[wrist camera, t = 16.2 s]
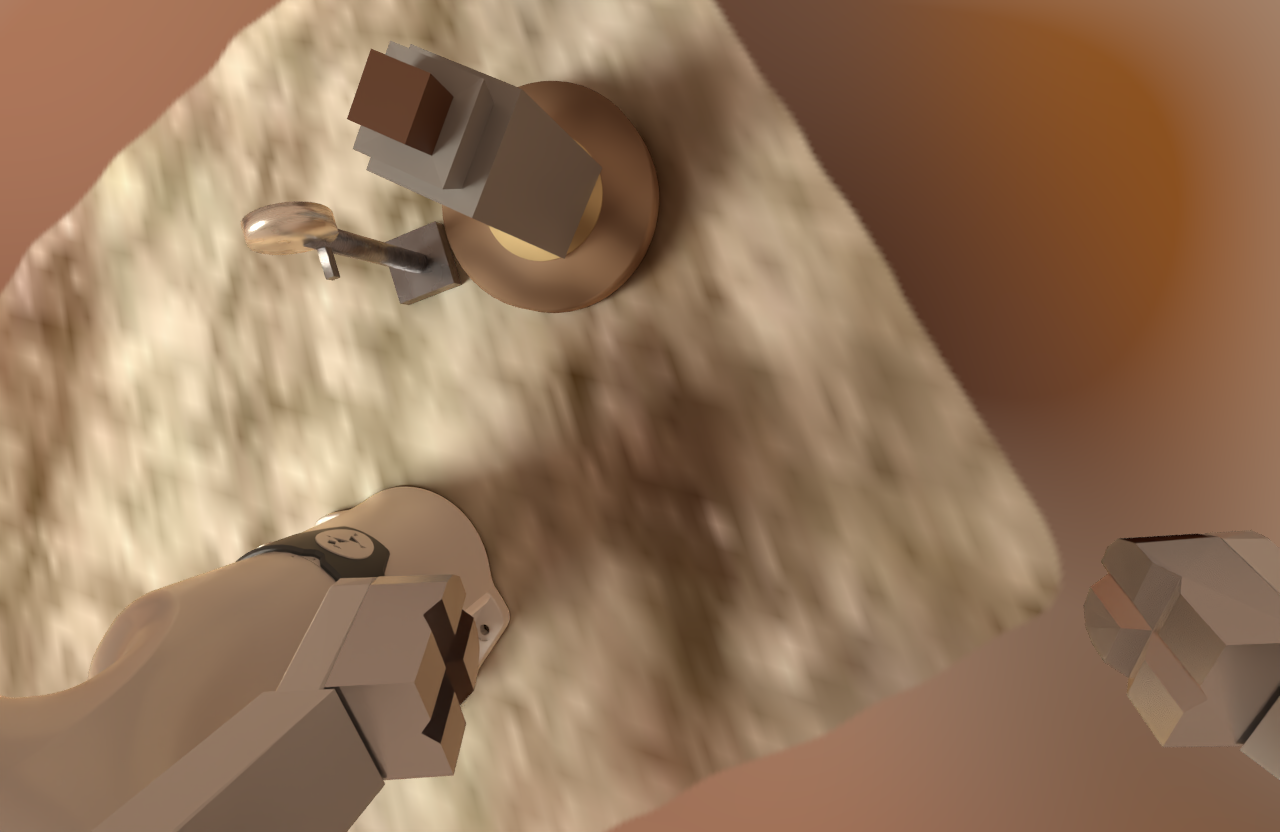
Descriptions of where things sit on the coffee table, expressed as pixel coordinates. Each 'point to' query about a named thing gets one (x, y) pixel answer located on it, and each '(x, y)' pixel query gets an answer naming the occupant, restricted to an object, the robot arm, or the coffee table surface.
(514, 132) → the perfume bottle
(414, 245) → the dial indicator
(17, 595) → the coffee table surface
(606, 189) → the turntable
